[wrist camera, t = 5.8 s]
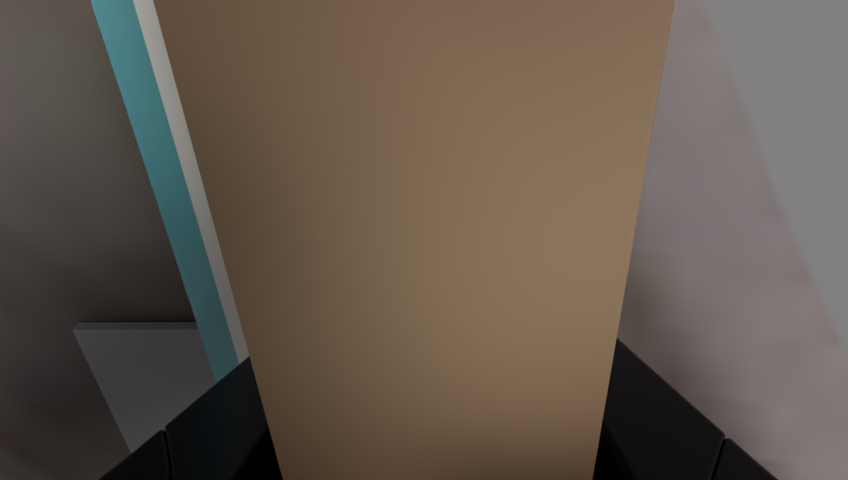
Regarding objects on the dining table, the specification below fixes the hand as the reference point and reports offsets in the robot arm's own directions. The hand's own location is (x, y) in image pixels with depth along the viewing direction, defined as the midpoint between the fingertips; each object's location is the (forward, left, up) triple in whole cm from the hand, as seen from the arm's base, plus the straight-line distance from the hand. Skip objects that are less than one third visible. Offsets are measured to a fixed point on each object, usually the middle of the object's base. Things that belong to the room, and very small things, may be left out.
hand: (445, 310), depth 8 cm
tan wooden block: (0, 0, -1) cm, 1 cm away
